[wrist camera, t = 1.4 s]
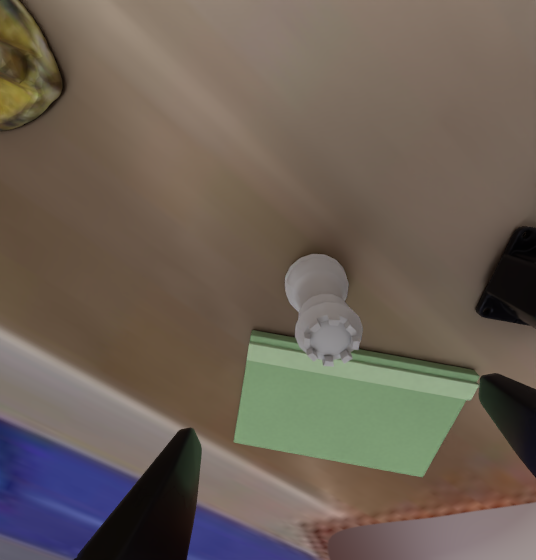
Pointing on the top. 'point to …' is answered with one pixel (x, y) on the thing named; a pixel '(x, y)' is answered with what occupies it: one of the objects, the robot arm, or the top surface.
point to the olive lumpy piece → (24, 68)
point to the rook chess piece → (323, 309)
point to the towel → (349, 405)
